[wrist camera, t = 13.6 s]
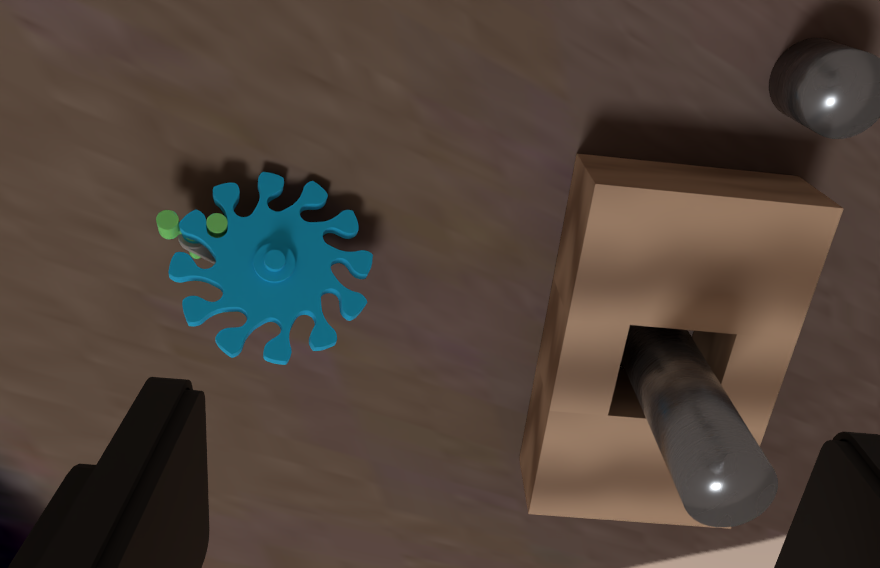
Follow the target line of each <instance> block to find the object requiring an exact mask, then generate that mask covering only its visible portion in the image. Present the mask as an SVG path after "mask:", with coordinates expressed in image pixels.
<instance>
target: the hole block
mask: <svg viewBox="0 0 880 568" xmlns="http://www.w3.org/2000/svg"><path fill="white" fill-rule="evenodd" d="M842 211H843V208H842V207H841V206H839V205H838V204H837V203H835V202H834V201H832V200H831V199H830V198H828V197H827V196H825V195H824V194H823V193H821V192H820V191H818V190H817V189H816V188H814V187H813V186H812V185H810V184H809V183H807V182H806V181H805V180H803V179H802V178H800V177H799V176H794V175H784V174H774V173H764V172H754V171H745V170H735V169H725V168H715V167H705V166H695V165H685V164H675V163H665V162H656V161H646V160H636V159H626V158H616V157H606V156H596V155H586V154H577V155H576V160H575V165H574V171H573V176H572V181H571V187H570V192H569V197H568V202H567V208H566V213H565V218H564V224H563V229H562V234H561V240H560V245H559V250H558V256H557V261H556V266H555V271H554V277H553V282H552V287H551V293H550V298H549V303H548V309H547V314H546V319H545V325H544V330H543V335H542V340H541V346H540V351H539V356H538V362H537V367H536V372H535V378H534V383H533V388H532V394H531V399H530V404H529V410H528V415H527V420H526V425H525V431H524V436H523V441H522V447H521V452H520V457H519V460H520V466H521V472H522V478H523V484H524V490H525V496H526V502H527V508H528V514H536V515H550V516H564V517H577V518H591V519H605V520H619V521H633V522H646V523H660V524H674V525H688V526H701V527H711V526H707V525H704V524H701V523H699V522H698V521H696V520H694V519H693V518H692V517H691V516H690V515H689V514H688V513H687V511H686V510H685V508H684V505H683V503H682V501H681V498H680V496H679V494H678V491H677V489H676V487H675V484H674V482H673V480H672V477H671V475H670V473H669V471H668V468H667V466H666V464H665V461H664V459H663V457H662V454H661V452H660V450H659V447H658V445H657V443H656V440H655V438H654V436H653V433H652V431H651V429H650V426H649V424H648V422H647V419H646V417H645V415H644V412H643V410H642V408H641V406H640V403H639V401H638V399H637V396H636V394H635V392H634V389H633V387H632V385H631V382H630V380H629V378H628V375H627V373H626V371H625V369H619V368H620V364H621V360H622V355H623V351H624V347H625V343H626V339H627V335H628V331H629V327H630V325H637V326H648V327H660V328H671V329H683V330H694V333H693V336H692V338H693V340H694V342H695V343H696V345H697V346H698V348H699V350H700V351H701V353H702V355H703V356H704V358H705V359H706V361H707V363H708V364H709V366H710V367H711V369H712V371H713V372H714V374H715V376H716V377H717V379H718V380H719V382H720V384H721V385H722V387H723V388H724V390H725V392H726V393H727V395H728V397H729V398H730V400H731V401H732V403H733V405H734V406H735V408H736V409H737V411H738V413H739V414H740V416H741V417H742V419H743V421H744V422H745V424H746V426H747V427H748V429H749V430H750V432H751V434H752V435H753V437H754V438H755V440H756V442H757V443H758V445H759V447H760V444H761V441H762V438H763V436H764V433H765V430H766V427H767V424H768V421H769V419H770V416H771V413H772V410H773V407H774V404H775V401H776V399H777V396H778V393H779V390H780V387H781V384H782V382H783V379H784V376H785V373H786V370H787V367H788V365H789V362H790V359H791V356H792V353H793V350H794V348H795V345H796V342H797V339H798V336H799V333H800V331H801V328H802V325H803V322H804V319H805V316H806V313H807V311H808V308H809V305H810V302H811V299H812V296H813V294H814V291H815V288H816V285H817V282H818V279H819V277H820V274H821V271H822V268H823V265H824V262H825V260H826V257H827V254H828V251H829V248H830V245H831V243H832V240H833V237H834V234H835V231H836V228H837V226H838V223H839V220H840V217H841V214H842ZM715 528H729V529H731V527H715Z"/></svg>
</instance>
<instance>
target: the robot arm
mask: <svg viewBox="0 0 880 568" xmlns="http://www.w3.org/2000/svg"><path fill="white" fill-rule="evenodd" d="M208 541H209V505H208V474H207V442H206V411H205V395H204V392H203V391H196V390H193V388H192V384H191V381H190V380H184V379H171V378H159V377H150V378H148V380H147V381H146V382H145V384H144V386H143V387H142V389H141V391H140V392H139V394H138V396H137V397H136V399H135V401H134V402H133V404H132V406H131V408H130V409H129V411H128V413H127V414H126V416H125V418H124V419H123V421H122V423H121V424H120V426H119V428H118V429H117V431H116V433H115V434H114V436H113V438H112V440H111V441H110V443H109V445H108V446H107V448H106V450H105V451H104V453H103V455H102V456H101V458H100V460H99V461H98V463H97V465H89V464H78V465H76V466H74V467H73V468H72V469H71V470H70V472H69V473H68V474H67V475H66V477H65V479H64V480H63V482H62V483H61V485H60V486H59V488H58V490H57V491H56V493H55V494H54V496H53V497H52V499H51V501H50V502H49V504H48V505H47V507H46V508H45V510H44V512H43V513H42V515H41V516H40V518H39V519H38V521H37V523H36V524H35V526H34V527H33V529H32V530H31V532H30V534H29V535H28V537H27V538H26V540H25V541H24V543H23V545H22V546H21V548H20V549H19V551H18V553H17V554H16V556H15V557H14V559H13V560H12V562H11V564H10V565H9V567H8V568H201V567H202V564H203V562H204V559H205V555H206V552H207V547H208ZM774 568H880V435H878V434H866V433H854V432H840V433H838V434H837V435H836V436H835V437H834V438H833V440H829V441H826V442H825V443H824V444H823V446H822V448H821V450H820V453H819V455H818V458H817V460H816V463H815V466H814V468H813V471H812V473H811V476H810V478H809V481H808V483H807V486H806V488H805V491H804V493H803V496H802V498H801V501H800V503H799V506H798V509H797V511H796V514H795V516H794V519H793V521H792V524H791V526H790V529H789V531H788V534H787V536H786V539H785V542H784V544H783V547H782V549H781V552H780V554H779V557H778V559H777V562H776V565H775V567H774Z"/></svg>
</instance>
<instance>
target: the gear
mask: <svg viewBox="0 0 880 568" xmlns="http://www.w3.org/2000/svg"><path fill="white" fill-rule="evenodd" d="M283 187H284V178H283V177H281V176H279V175H276V174H273V173H268V172H262V173H261V174H260V176H259V178H258V191H259V195H260V199H259V202H258V204H257V206H256V208H255V210H254V211H253V213H252V214H251V215H250V216H248V217H240V216H238V215H236V214H235V212H234V209H235V207H236V206H237V204H238V202H239V199H240V191H239V187H238V185H237V184H236V183H224V184H220V185H217V186H214V187H213V199H214V202H215V204H216V205H217V206H218V207H219V208H220V209H221V210H222V212H223V213H224V215H225V216H224V215H222V214H219V213H214V214H211V215H210V216H209V217H208V218H207V220H206V218H205V216H204V214H203V213H202V212H200V211H198V210H194V211H191V212H190V213H189V214H187V215H186V216H185V217H184V218H183V219H182V220H181V221H180V222H179V219H178V216H177V214H176V213H175V212H173V211H171V210H164V211H162V212H160V213H159V214H158V215H157V218H156V222H157V226H158V230H159V233H160V235H161V236H162V237H164V238H166V239H173V238H175V237H177V236H178V240H179V243H180V245H181V246H182V247H183V248H184V249H186V250H188V251H190V255H191V256H192V257H193V258H196V259H198V258H203V259H205V260H207V261H209V262H211V263H213V264H214V266H213V267H211V268H209V269H202V268H199V267H198V266H197V265H196V264H195V262H194V261H193V259H192V258H191V256H190V255H188V254H186V253H184V252H176V253H175V254H174V256H173V257H172V260H171V263H170V267H169V277H170V279H172V280H173V281H175V282H187V281H202V282H206V283H209V284H211V285H213V286H215V287H217V288H219V289H220V290H221V291H222V292H223V296H222V297H221V299H220V300H218V301H216V302H209V301H206V300H204V299H202V298H200V297H198V296H189V297H186V298H185V299H183V303H182V305H183V311H184V315H185V318H186V321H187V323H188V325H189V326H198V325H201V324H202V323H203V322H205V321H206V320H207V319H208V318H210V317H211V316H214V315H216V314H219V313H222V312H241V313H243V314H244V315H245V316H246V318H247V322H246V323H245V324H244V325H243V326H241V327H237V328H225V329H223V330H221V331H220V332H219V333H218V334H217V336H216V338H215V339H216V343H217V345H218V347H219V348H220V349H221V350H222V351H223V352H224V353H225V354H227V355H228V356H230V357H231V358H233V357H236V356H237V355H239V354H240V353H241V351H242V349H243V345H244V343H245V341H246V339H247V337H248V336H249V335H250V334H251V333H252V332H253V331H254V330H255V329H256V328H258V327H259V326H261V325H263V324H264V323H266V322H275V323H277V324H278V325H279V327H280V329H281V333H280V334H279V335H278V336H277V337H275V338H273V339H272V340H270V341H269V342H268V343H267V344H266V345H265V348H264V353H263V357H264V359H265V360H266V361H268V362H271V363H275V364H282V365H286V364H287V363H288V361H289V359H290V356H291V347H290V342H289V332H290V329H291V327H292V325H293V323H294V321H295V320H296V318H297V317H298V316H300V315H309V316H310V317H312V318H313V320H314V322H315V326H314V328H313V330H312V332H311V335H310V337H309V345H310V347H311V349H312V350H313V351H320V350H324V349H327V348H330V347H332V346H334V345H335V343H336V341H337V335H336V332H335V330H334V329H333V328H332V327H331V326H330V325H329V324H328V323H327V321H326V320H325V318H324V316H323V312H322V308H321V296H322V295H324V294H326V293H332V294H334V295H336V296H337V297H338V299H339V306H340V313H341V315H342V316H343V317H344V318H345V319H347V320H349V321H351V320H353V319H354V318H355V317H357V316H358V315H359V314H360V312H361V311H362V310H363V308H364V307H365V305H366V304H367V300H366V298H365V297H364V296H363V295H362V294H360V293H357V292H353V291H351V290H349V289H347V288H346V287H344V286H343V285H342V284H341V283H340V282H339V281H338V280H337V279H336V277H335V276H334V274H333V273H332V271H331V266H332V265H333V264H336V263H341V264H343V265H345V266H346V267H347V269H348V270H349V272H350V273H351V274H352V275H353V276H354V277H355V278H358V279H365V278H366V277H367V275H368V273H369V271H370V268H371V265H372V257H373V254H371V253H370V252H368V251H365V250H360V251H356V252H345V251H341V250H338V249H336V248H334V247H332V246H330V245H328V244H326V243H325V242H324V240H323V236H324V235H325V234H327V233H334V234H336V235H338V236H340V237H342V238H345V239H350V238H353V237H355V236H356V235H357V232H358V230H359V227H358V221H357V219H356V216H355V214H354V212H353V211H352V210H345V211H342V212H341V213H339V214H338V215H337V216H336V217H334V218H333V219H330V220H328V221H324V222H307V221H304V220H303V219H302V218H301V216H300V213H301V212H302V211H304V210H318V209H320V208H322V207H323V206H324V205H325V204H326V201H327V197H328V194H327V193H326V191H325V190H324V189H323V188H322V187H321V186H320V185H318V184H317V183H316V182H314V181H310V182H308V183H307V184H306V185H305V186H304V188H303V192H302V194H301V196H300V198H299V199H298V200H297V201H296V202H295V203H294V204H293V205H291V206H290V207H288V208H286V209H284V210H283V211H279V212H276V211H273V210H271V209H270V208H269V207H268V205H267V204H268V203H269V202H270V201H272V200H273V199H275V198H277V197H279V196H280V195H281V194H282V192H283Z"/></svg>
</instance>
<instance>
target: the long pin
mask: <svg viewBox="0 0 880 568" xmlns="http://www.w3.org/2000/svg"><path fill="white" fill-rule="evenodd" d="M621 361H622V364H623V366H624V368H625V371H626V373H627V375H628V378H629V380H630V382H631V385H632V387H633V389H634V392H635V394H636V396H637V399H638V401H639V403H640V406H641V408H642V410H643V412H644V415H645V417H646V419H647V422H648V424H649V426H650V429H651V431H652V433H653V436H654V438H655V440H656V443H657V445H658V447H659V450H660V452H661V454H662V457H663V459H664V461H665V464H666V466H667V468H668V471H669V473H670V475H671V477H672V480H673V482H674V484H675V487H676V489H677V491H678V494H679V496H680V498H681V501H682V503H683V505H684V508H685V510H686V511H687V513H688V514H689V515H690V516H691V517H692V518H693V519H694V520H696V521H698V522H699V523H701V524H704V525H707V526H711V527H732V526H737V525H741V524H744V523H746V522H749V521H751V520H753V519H754V518H756V517H757V516H759V515H760V514H762V513H763V512H764V511H765V510H766V509H767V508H768V507H769V505H770V504H771V503H772V501H773V500H774V497H775V495H776V492H777V488H778V480H777V475H776V473H775V471H774V469H773V468H772V466H771V464H770V463H769V461H768V459H767V458H766V456H765V455H764V453H763V451H762V450H761V448H760V447H759V445H758V443H757V442H756V440H755V438H754V437H753V435H752V434H751V432H750V430H749V429H748V427H747V426H746V424H745V422H744V421H743V419H742V417H741V416H740V414H739V413H738V411H737V409H736V408H735V406H734V405H733V403H732V401H731V400H730V398H729V397H728V395H727V393H726V392H725V390H724V388H723V387H722V385H721V384H720V382H719V380H718V379H717V377H716V376H715V374H714V372H713V371H712V369H711V367H710V366H709V364H708V363H707V361H706V359H705V358H704V356H703V355H702V353H701V351H700V350H699V348H698V346H697V345H696V343H695V342H694V340H693V338H692V337H691V335H690V334H689V332H688V330H683V329H671V328H660V327H648V326H637V325H630V327H629V331H628V335H627V339H626V343H625V347H624V351H623V355H622V360H621Z"/></svg>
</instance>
